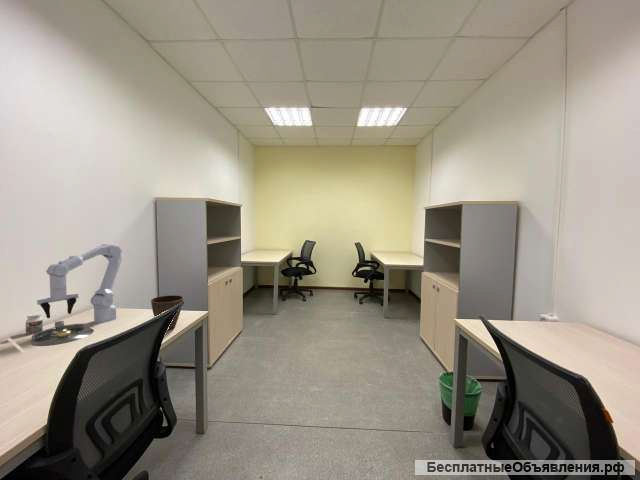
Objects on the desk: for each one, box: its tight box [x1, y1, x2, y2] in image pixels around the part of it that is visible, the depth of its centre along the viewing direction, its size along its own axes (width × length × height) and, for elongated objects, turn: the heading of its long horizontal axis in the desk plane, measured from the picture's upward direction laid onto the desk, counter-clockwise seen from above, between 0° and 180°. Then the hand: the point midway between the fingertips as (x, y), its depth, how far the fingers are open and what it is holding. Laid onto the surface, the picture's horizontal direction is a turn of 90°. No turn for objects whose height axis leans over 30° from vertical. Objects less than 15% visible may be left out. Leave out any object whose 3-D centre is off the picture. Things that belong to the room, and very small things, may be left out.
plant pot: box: [150, 294, 184, 331], centre depth 144 cm, size 15×15×16 cm
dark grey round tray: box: [30, 322, 95, 347], centre depth 129 cm, size 22×22×3 cm
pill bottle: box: [25, 312, 44, 336], centre depth 133 cm, size 6×6×10 cm
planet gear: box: [52, 320, 67, 335], centre depth 132 cm, size 6×6×6 cm
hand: (59, 315), depth 132 cm, fingers open, 7 cm apart
